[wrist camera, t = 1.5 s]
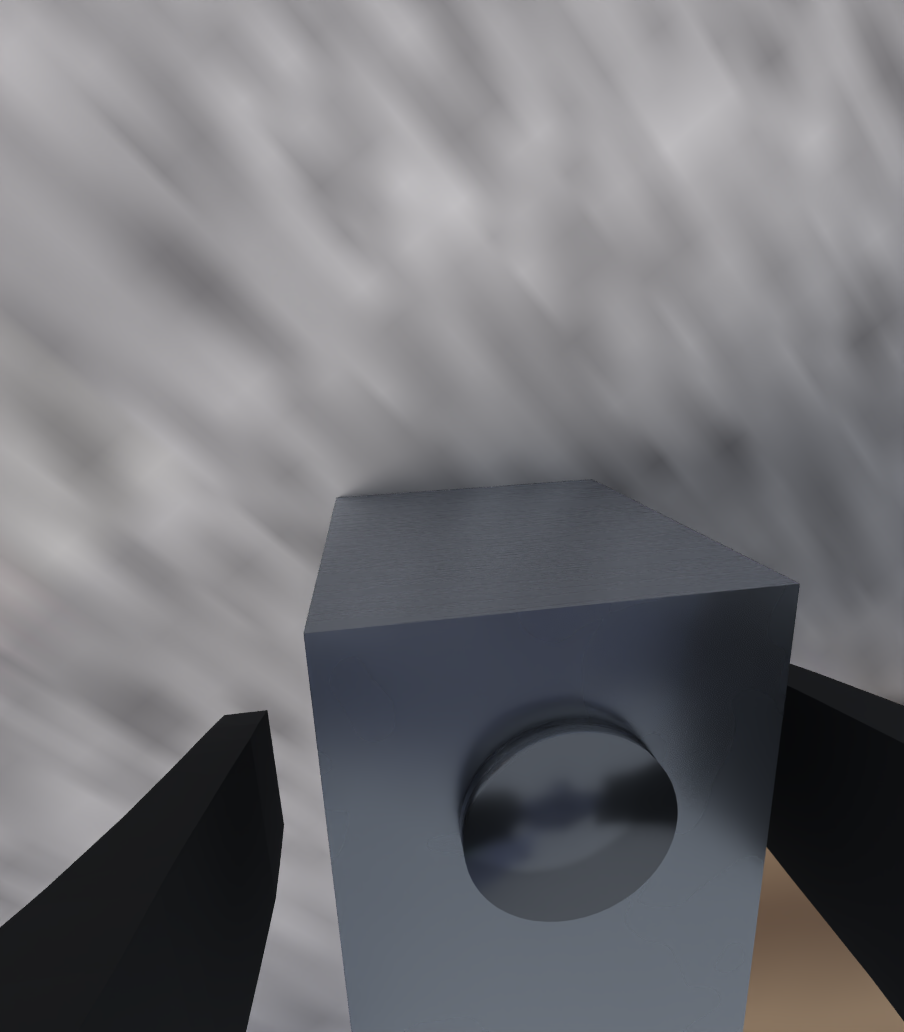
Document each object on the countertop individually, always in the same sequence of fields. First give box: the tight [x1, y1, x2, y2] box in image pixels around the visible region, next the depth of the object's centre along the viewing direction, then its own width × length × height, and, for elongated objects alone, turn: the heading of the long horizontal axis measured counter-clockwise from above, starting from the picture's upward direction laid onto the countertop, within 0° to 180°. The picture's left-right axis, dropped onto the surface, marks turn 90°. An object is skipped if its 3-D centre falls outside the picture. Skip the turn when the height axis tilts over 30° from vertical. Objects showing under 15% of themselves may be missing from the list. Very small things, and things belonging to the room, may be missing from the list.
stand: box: [743, 847, 904, 1032], centre depth 13 cm, size 9×8×2 cm
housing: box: [304, 479, 800, 1032], centre depth 9 cm, size 7×5×6 cm
